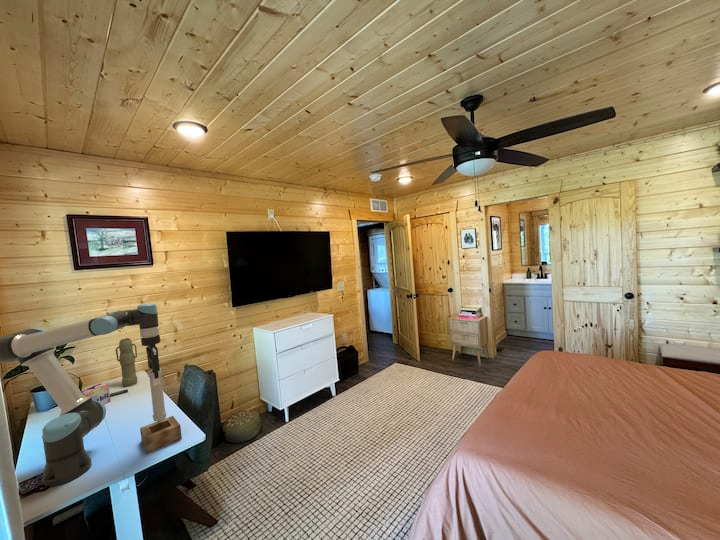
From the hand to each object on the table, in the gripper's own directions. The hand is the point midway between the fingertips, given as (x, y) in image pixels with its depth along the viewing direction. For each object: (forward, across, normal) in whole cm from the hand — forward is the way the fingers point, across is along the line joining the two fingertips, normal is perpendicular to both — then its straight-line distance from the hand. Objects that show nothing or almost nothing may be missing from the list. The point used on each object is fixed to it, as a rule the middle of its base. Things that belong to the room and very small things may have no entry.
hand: (155, 383), depth 146 cm
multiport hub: (+29, +91, +8) cm, 95 cm away
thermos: (+29, +104, -1) cm, 108 cm away
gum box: (+29, +77, +22) cm, 85 cm away
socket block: (+29, 0, 0) cm, 29 cm away
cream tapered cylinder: (+18, 0, 0) cm, 18 cm away
